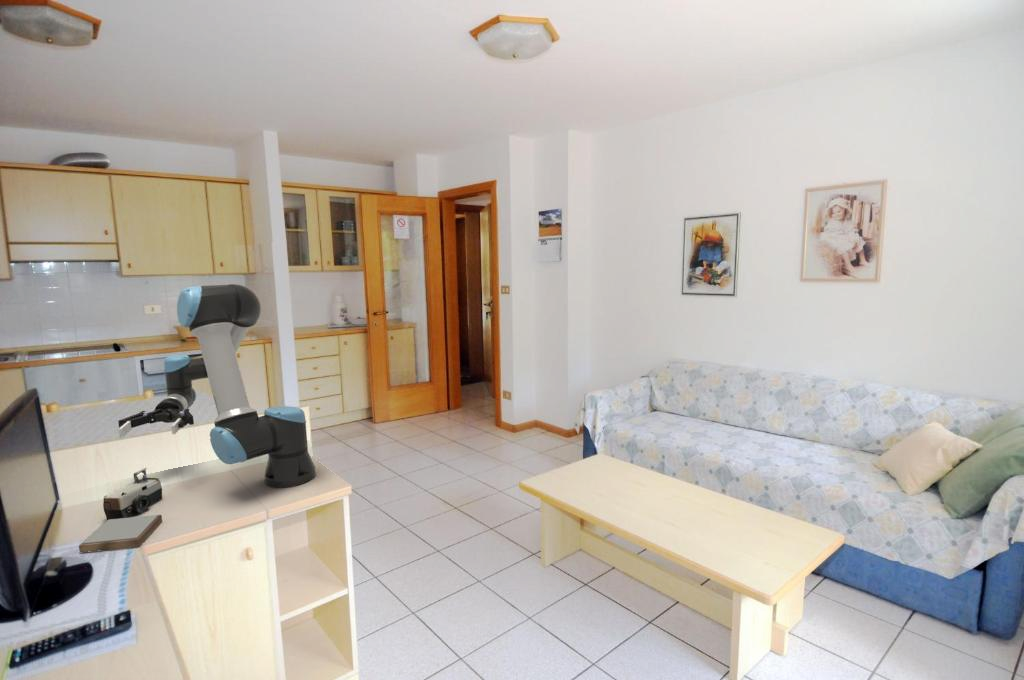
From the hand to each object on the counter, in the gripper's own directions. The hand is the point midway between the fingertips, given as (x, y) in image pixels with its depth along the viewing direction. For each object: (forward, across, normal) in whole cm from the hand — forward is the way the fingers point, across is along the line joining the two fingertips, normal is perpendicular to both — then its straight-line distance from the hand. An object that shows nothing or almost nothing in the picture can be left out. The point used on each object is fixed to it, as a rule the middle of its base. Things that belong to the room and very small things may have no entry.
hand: (147, 431), depth 159 cm
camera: (+10, +1, -20) cm, 22 cm away
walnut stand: (+26, -2, -19) cm, 32 cm away
